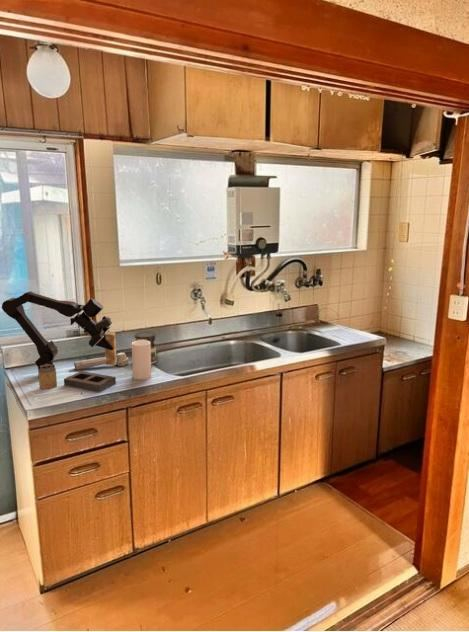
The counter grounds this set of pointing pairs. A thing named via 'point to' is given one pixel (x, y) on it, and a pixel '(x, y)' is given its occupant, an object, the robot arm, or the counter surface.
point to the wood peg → (111, 353)
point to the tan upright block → (47, 377)
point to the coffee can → (150, 337)
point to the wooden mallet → (101, 362)
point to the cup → (141, 359)
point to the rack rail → (90, 381)
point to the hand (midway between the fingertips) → (113, 348)
